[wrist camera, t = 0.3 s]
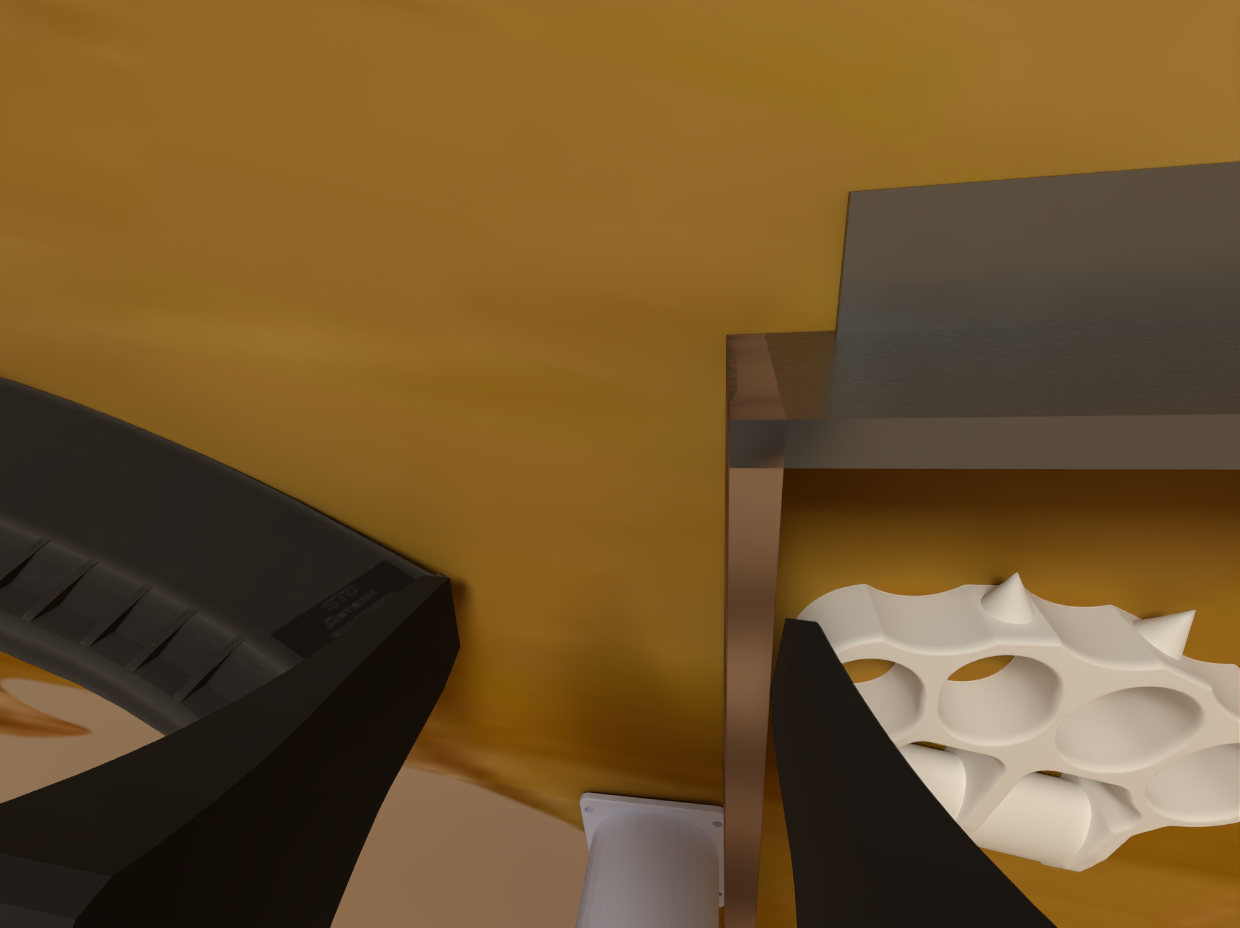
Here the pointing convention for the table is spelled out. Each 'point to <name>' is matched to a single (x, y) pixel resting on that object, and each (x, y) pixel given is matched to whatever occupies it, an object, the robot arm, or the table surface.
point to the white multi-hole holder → (1047, 715)
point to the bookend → (1022, 330)
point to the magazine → (164, 564)
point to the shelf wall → (748, 626)
